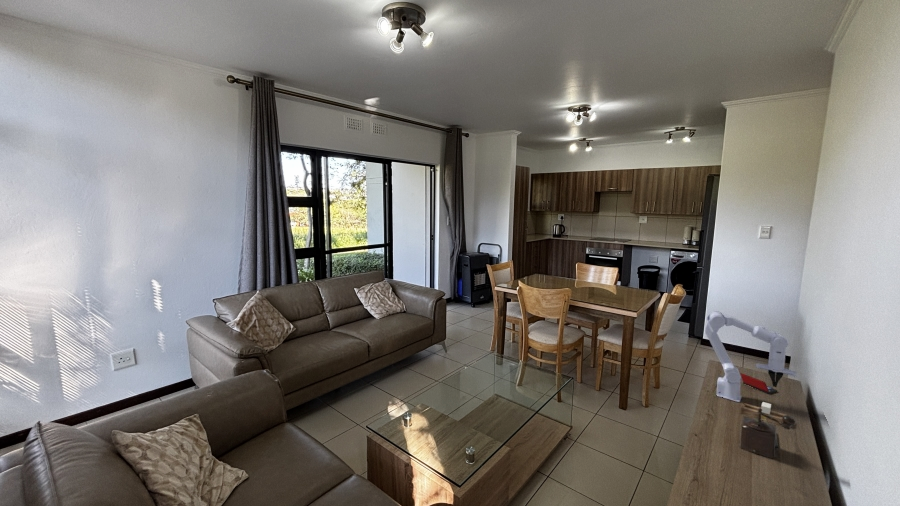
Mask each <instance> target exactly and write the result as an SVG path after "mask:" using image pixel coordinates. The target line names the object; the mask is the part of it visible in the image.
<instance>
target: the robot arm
mask: <svg viewBox="0 0 900 506" xmlns="http://www.w3.org/2000/svg"><path fill="white" fill-rule="evenodd" d="M724 326H726V327H730V326H734V327H736V328H739V329H741V330H743V331H746V332H748V333H750V334H751V336H752V337H753V338H756V339H759V340H760V341H762V342H765V343H768V344H769V343H770V345H769V354H768V355H769V356H768V364H765V363H764V364H763V363H756V364H755V366H756V367H755V368H756V369H762V370H766V371H767V374H768V376H769V378H770V380H771V383H772V388H773V387H774V388H777V386H778V383H779V382H780V380H781V379H782V378H783V376H784V375H789V376H792V377H795V378H796V377H797V375H798V371H795V370H791V369H788V368H785V365H786V348H787V347H788V346H789V343H788V340H787V339H786V338H785V337H784V336H783V334H780V333H779V332H776V331H771V330H769V329H766V327H765V326H763V325H761V326H760V325H756V326H753V325H751V324H749V323H747V322H744V321H742V320H740V319H738V318H736V317H734V316H732V315H729V314H727V313H725V312H720V311H718V310H713V311H711V312H709V314H708V315H707V317H706V323H705V326H704V331H705V335H706V337H707V338H708V340H709V343H710V345H711V346H712V349H713V350H714V352H715V354H716V356H717V358H718V360H719V361H720V364H721V365H722V368H723V372H724V376H723V377H720V376H719V377H717V381H716V395H717V397H719V398H722V397H723V398H724V399H727V400H731V401H734V402H738V403H740V402H741V399H742V397H743V396H742V395H741V386H742V385H741V383H742V378H741V375H740V370H739V368H738V367H737V366H736V365H735V364H734V363H733V361H732V359H731V358H730V356H729V354H728V352H727V350H726V348H725V346H724V344H723V342H722V340H721V339H720V336H719V334H718V331H719V330H720V329H721V328H723V327H724ZM716 395H715V396H716Z"/></svg>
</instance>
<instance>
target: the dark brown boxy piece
mask: <svg viewBox="0 0 900 506" xmlns="http://www.w3.org/2000/svg"><path fill="white" fill-rule="evenodd" d="M757 413H758V419H757V418H753V417H750V416H748V417H747V416H746V415H744V416H743V418H742V422H741V431H740V443H739V448H740V449H742V450H744V451H748V452H750V453H753V454H756V455H759V456H763V457H766V458H769V459H770V458H771V459H775V456H776V450H775V437H776V435H777V426H776V425H777V424H774V423H771V422H767V421H764V420H761V415H763V416H764V417H766V418H769V419H771V420H773V421H776V422H778V423H779V424H781V425H782V426H781V425H780V426H781V427H782V428H783V429H786V430H791V429H792V428H791V427H792V426H795V425H796V419H795V418H793V417H792V416H790V415H789V416H787V415H788V414H785V415H784V416H783V418H782V420H783V423H782V422H781V421H779V420H777V419H774V418H772V417H770V416H767V415H765V414H763V413H762V409H761V407H760V408H758V412H757Z"/></svg>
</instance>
